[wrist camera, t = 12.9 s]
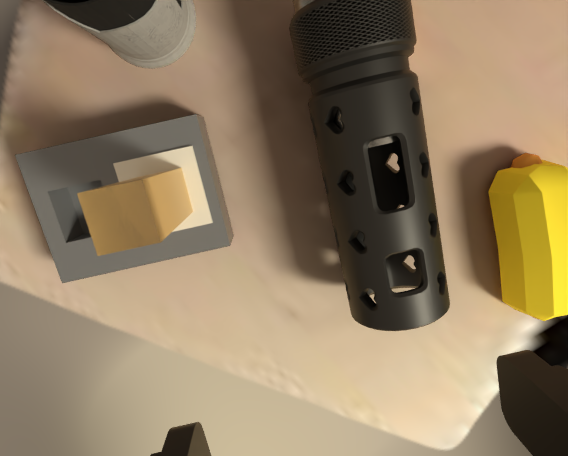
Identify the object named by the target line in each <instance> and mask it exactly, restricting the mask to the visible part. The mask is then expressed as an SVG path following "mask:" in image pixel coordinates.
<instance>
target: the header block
mask: <svg viewBox="0 0 568 456" xmlns="http://www.w3.org/2000/svg"><path fill="white" fill-rule="evenodd" d="M15 157H16V159H17V162H18V165H19V168H20V170H21V173H22V176H23V178H24V181H25V184H26V186H27V189H28V192H29V195H30V197H31V200H32V203H33V205H34V208H35V211H36V214H37V216H38V219H39V222H40V224H41V227H42V230H43V233H44V235H45V238H46V241H47V243H48V246H49V249H50V252H51V254H52V257H53V260H54V262H55V265H56V268H57V271H58V273H59V276H60V279H61V281H62V283H66V282H70V281H75V280H79V279H84V278H88V277H93V276H97V275H101V274H106V273H110V272H115V271H119V270H124V269H128V268H133V267H137V266H142V265H146V264H151V263H155V262H160V261H164V260H169V259H173V258H177V257H182V256H186V255H191V254H195V253H200V252H204V251H209V250H213V249H218V248H222V247H227V246H230V245H231V242H232V239H233V236H234V234H233V231H232V227H231V223H230V219H229V215H228V211H227V207H226V203H225V199H224V195H223V191H222V188H221V184H220V180H219V176H218V172H217V168H216V164H215V160H214V156H213V152H212V148H211V145H210V141H209V137H208V133H207V129H206V125H205V121H204V117H202V116H199V115H197V114H195V115H190V116H186V117H181V118H177V119H172V120H168V121H163V122H159V123H155V124H150V125H146V126H141V127H137V128H132V129H128V130H123V131H119V132H115V133H110V134H106V135H101V136H97V137H92V138H88V139H83V140H79V141H75V142H70V143H66V144H61V145H57V146H52V147H48V148H44V149H39V150H35V151H30V152H26V153H21V154H17V155H15ZM178 168H182V172H183V175H184V179H185V183H186V187H187V190H188V194H189V198H190V202H191V205H192V209H193V212H192V213H191V214H190V215H189V216H188V217H187V218H186V219H185V220H184V221H183V222H182V223H181V224H180V225H179V226H178V227H177V228H175V229H174V230H173V231H172V232H171V233H170V234H169V235H168V236H167V237H166V238H165V239H164V240H163V241H162V242H161V243H156V244H152V245H147V246H142V247H138V248H133V249H128V250H124V251H119V252H115V253H110V254H105V255H101V256H98V255H97V252H96V249H95V246H94V243H93V240H92V237H91V234H90V231H89V228H88V225H87V222H86V219H85V216H84V213H83V210H82V207H81V204H80V201H79V198H78V195H77V193H81V192H84V191H88V190H92V189H95V188H99V187H103V186H106V185H110V184H114V183H118V182H121V181H125V180H129V179H132V178H136V177H141V176H145V175H150V174H154V173H159V172H164V171H168V170H173V169H178Z"/></svg>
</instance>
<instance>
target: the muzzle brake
mask: <svg viewBox="0 0 568 456" xmlns="http://www.w3.org/2000/svg"><path fill="white" fill-rule="evenodd" d="M293 3H294V8H295V15H294V16H293V18H292V20H291V23H290V28H289V30H290V35H291V40H292V45H293V50H294V55H295V59H296V64H297V69H298V74H299V75H300V76H302V78H303V82H306V83H309V84H310V86H311V91H312V97H311V98H310V100H309V103H308V106H309V111H310V116H311V121H312V125H313V130H314V135H315V140H316V145H317V150H318V155H319V159H320V164H321V169H322V174H323V179H324V183H325V189H326V193H327V198H328V203H329V208H330V213H331V218H332V223H333V227H334V232H335V237H336V242H337V247H338V252H339V257H340V262H341V266H342V271H343V276H344V281H345V284H346V291H347V296H348V300H349V305H350V310H351V314H352V317H353V318H354V319H355V321H357V322H358V323H360V324H362V325H364V326H366V327H368V328H372V329H376V330H383V331H401V330H409V329H415V328H419V327H422V326H426V325H428V324H430V323H433V322H435V321H436V320H438V319H439V318H441V317H442V316H443V315H444V314H445V313H446V312H447V311H448V309H449V306H450V301H449V294H448V287H447V280H446V273H445V266H444V259H443V252H442V245H441V238H440V231H439V224H438V217H437V210H436V203H435V195H434V188H433V181H432V174H431V167H430V160H429V153H428V146H427V139H426V132H425V125H424V118H423V111H422V104H421V97H420V90H419V83H418V77H417V75H416V74H415V73H414V72H412V71H411V70H410V68H409V61H408V57H409V56H410V55H411V54H413V53H414V45H415V44H416V33H415V26H414V19H413V12H412V5H411V0H293ZM393 153H395V154H396V155H397V156H398V161H397V164H398V165H399V167H400V170H399V171H396V170H394V169H393V168H392V167H391V166H390V165H388V164H387V162H388V161H389V159H390V157H391V156H392V154H393ZM400 205H404V207H402V208H399V207H400ZM398 208H399V209H398ZM408 255H411V256H412V257H413V258H414V260H415V262H414V266H415V267H416V269H412V268H411V267H410V266H408V265H407V264H406V263H405V262H404V261H405V259H406V258H407V256H408ZM394 288H415V289H412V290H408V291H404V292H398V293H395V292H393V291H392V290H391V289H394ZM372 294H375V296H374V300H375V302H376V303H375V302H374V301H373V300H372V299H371V297H370V295H372Z"/></svg>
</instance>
